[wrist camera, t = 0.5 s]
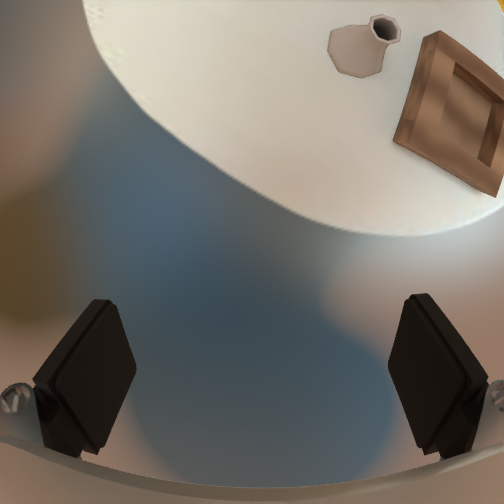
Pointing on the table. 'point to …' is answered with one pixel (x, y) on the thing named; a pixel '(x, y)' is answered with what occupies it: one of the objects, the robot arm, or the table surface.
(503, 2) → the dish sponge
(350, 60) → the flask
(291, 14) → the table surface
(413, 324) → the robot arm
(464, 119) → the condiment dock
